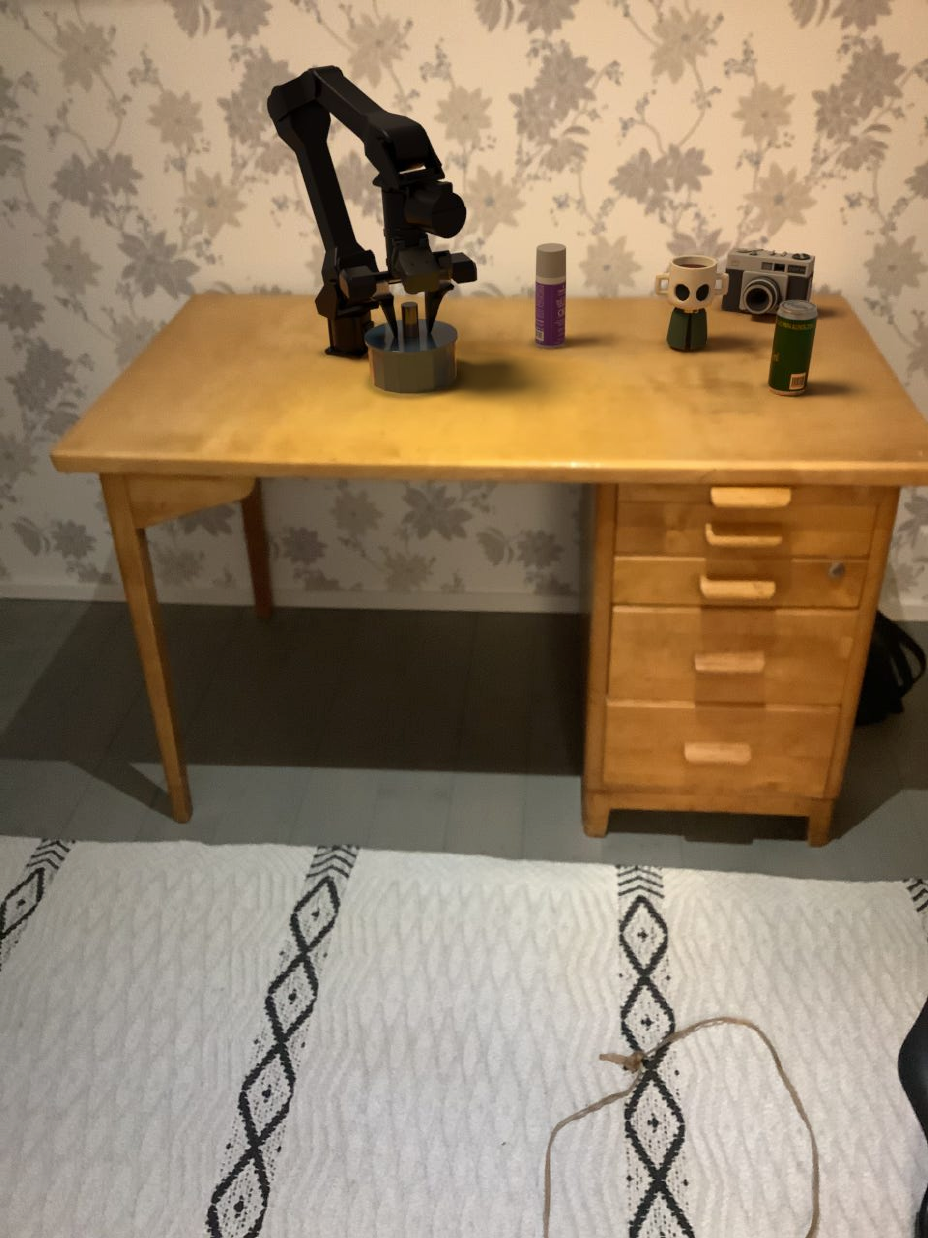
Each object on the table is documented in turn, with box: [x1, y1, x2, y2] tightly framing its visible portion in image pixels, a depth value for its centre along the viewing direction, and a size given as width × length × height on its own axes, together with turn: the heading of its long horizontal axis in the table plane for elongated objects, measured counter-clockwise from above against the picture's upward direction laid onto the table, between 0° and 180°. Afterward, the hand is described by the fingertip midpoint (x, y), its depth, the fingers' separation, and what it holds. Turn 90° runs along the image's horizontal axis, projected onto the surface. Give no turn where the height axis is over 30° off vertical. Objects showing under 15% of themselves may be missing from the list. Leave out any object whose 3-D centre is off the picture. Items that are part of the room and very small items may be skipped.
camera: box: [721, 247, 816, 318], centre depth 177 cm, size 14×9×10 cm, turn 55°
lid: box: [364, 301, 459, 355], centre depth 157 cm, size 14×14×6 cm
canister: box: [367, 341, 458, 395], centre depth 160 cm, size 13×13×6 cm
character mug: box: [653, 254, 729, 350], centre depth 166 cm, size 11×7×13 cm, turn 84°
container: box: [534, 242, 567, 350], centre depth 168 cm, size 5×5×15 cm
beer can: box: [767, 300, 819, 397], centre depth 151 cm, size 5×5×12 cm
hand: (412, 334), depth 158 cm, fingers open, 5 cm apart
